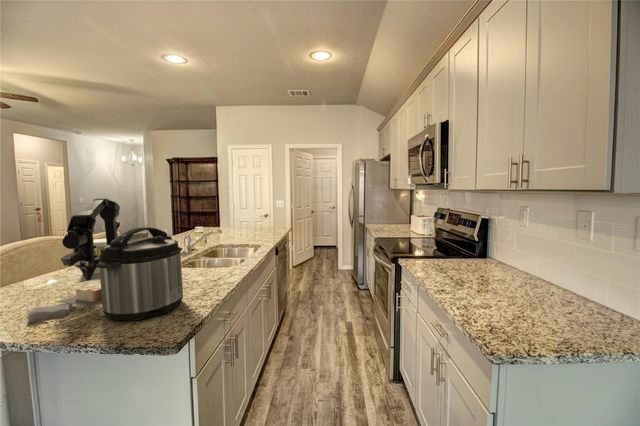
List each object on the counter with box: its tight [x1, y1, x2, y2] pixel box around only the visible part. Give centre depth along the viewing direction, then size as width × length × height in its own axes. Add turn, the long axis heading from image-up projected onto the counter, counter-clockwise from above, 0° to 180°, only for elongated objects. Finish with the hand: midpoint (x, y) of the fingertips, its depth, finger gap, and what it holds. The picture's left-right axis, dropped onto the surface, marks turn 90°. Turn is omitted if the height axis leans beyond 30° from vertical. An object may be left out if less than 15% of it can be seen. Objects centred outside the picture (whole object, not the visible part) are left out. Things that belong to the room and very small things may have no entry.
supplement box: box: [81, 238, 107, 276], centre depth 173 cm, size 13×13×18 cm
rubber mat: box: [57, 295, 102, 307], centre depth 130 cm, size 14×18×1 cm
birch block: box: [75, 284, 102, 302], centre depth 129 cm, size 6×5×11 cm
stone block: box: [27, 303, 74, 324], centre depth 114 cm, size 12×5×10 cm
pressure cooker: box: [97, 226, 184, 321], centre depth 118 cm, size 30×28×32 cm
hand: (88, 280), depth 129 cm, fingers closed
